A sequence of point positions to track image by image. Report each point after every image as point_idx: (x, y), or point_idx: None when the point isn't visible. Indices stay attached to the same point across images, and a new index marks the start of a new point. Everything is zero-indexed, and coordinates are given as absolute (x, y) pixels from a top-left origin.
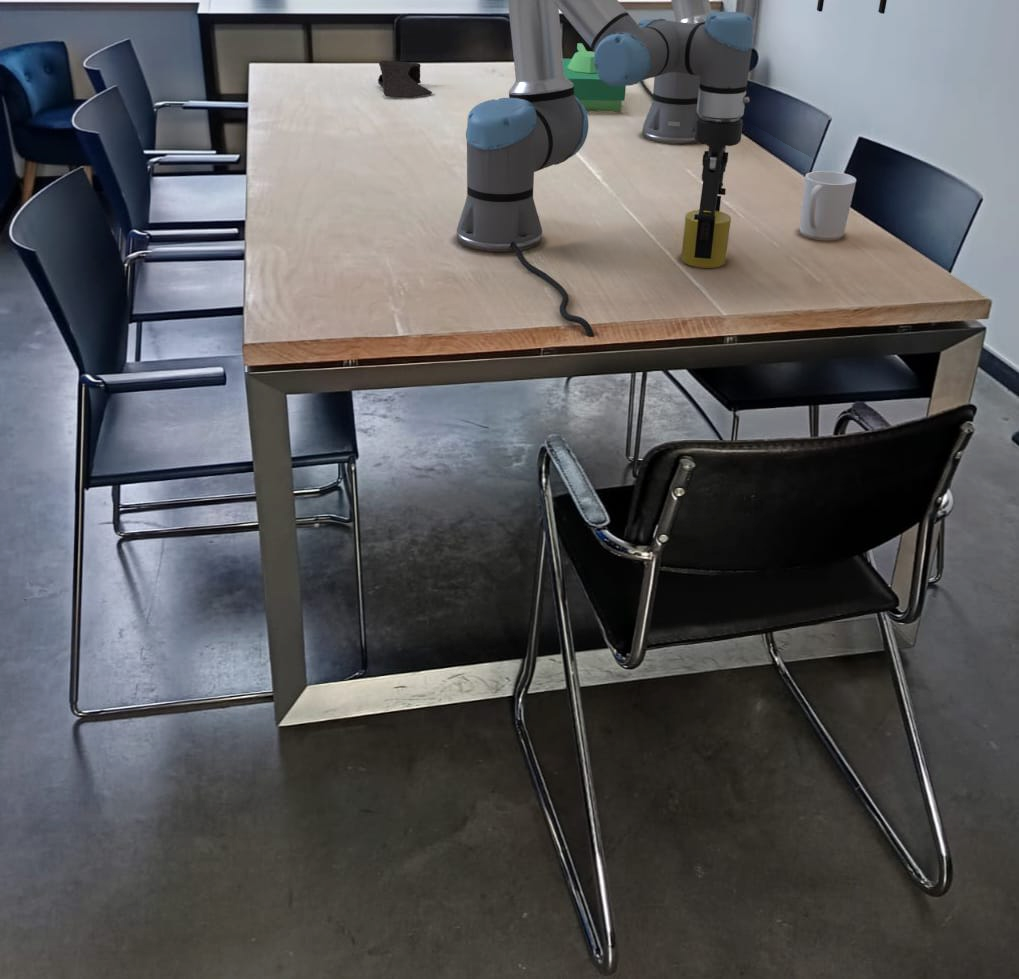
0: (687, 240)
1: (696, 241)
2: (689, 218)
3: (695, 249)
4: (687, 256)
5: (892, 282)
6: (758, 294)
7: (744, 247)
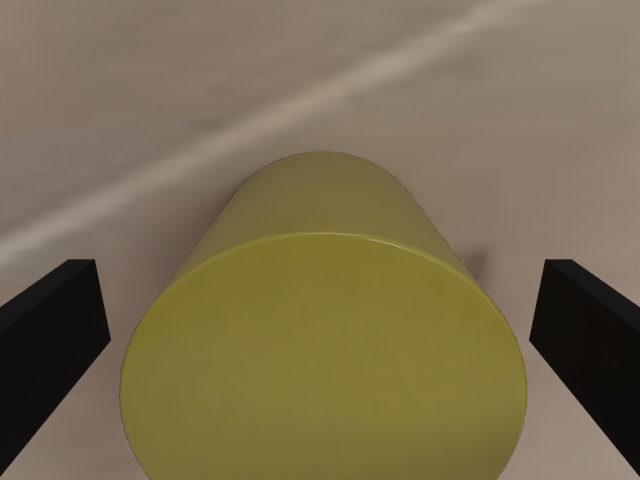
0: (222, 214)
1: (2, 310)
2: (195, 278)
3: (39, 282)
4: (232, 197)
5: None
6: (19, 463)
7: (541, 403)
